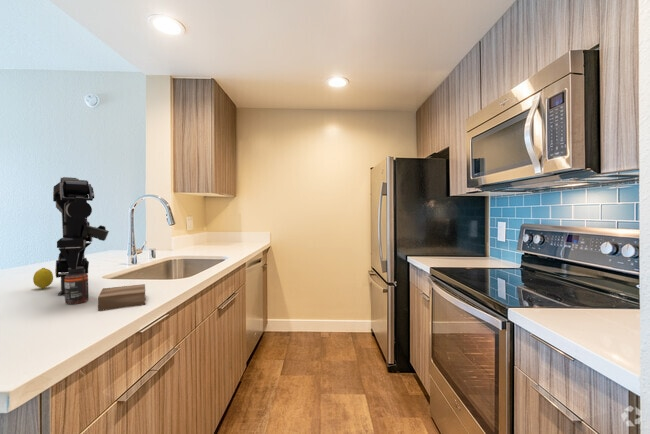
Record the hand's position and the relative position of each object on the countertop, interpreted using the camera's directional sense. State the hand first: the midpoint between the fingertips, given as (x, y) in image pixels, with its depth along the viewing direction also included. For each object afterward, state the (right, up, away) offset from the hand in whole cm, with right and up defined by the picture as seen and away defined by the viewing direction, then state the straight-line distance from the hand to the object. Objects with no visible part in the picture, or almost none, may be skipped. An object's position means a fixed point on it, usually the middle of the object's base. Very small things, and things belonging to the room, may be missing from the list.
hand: (76, 266), depth 98 cm
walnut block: (+15, -12, 0) cm, 19 cm away
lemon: (-26, -11, +16) cm, 33 cm away
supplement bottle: (0, -12, 0) cm, 12 cm away
